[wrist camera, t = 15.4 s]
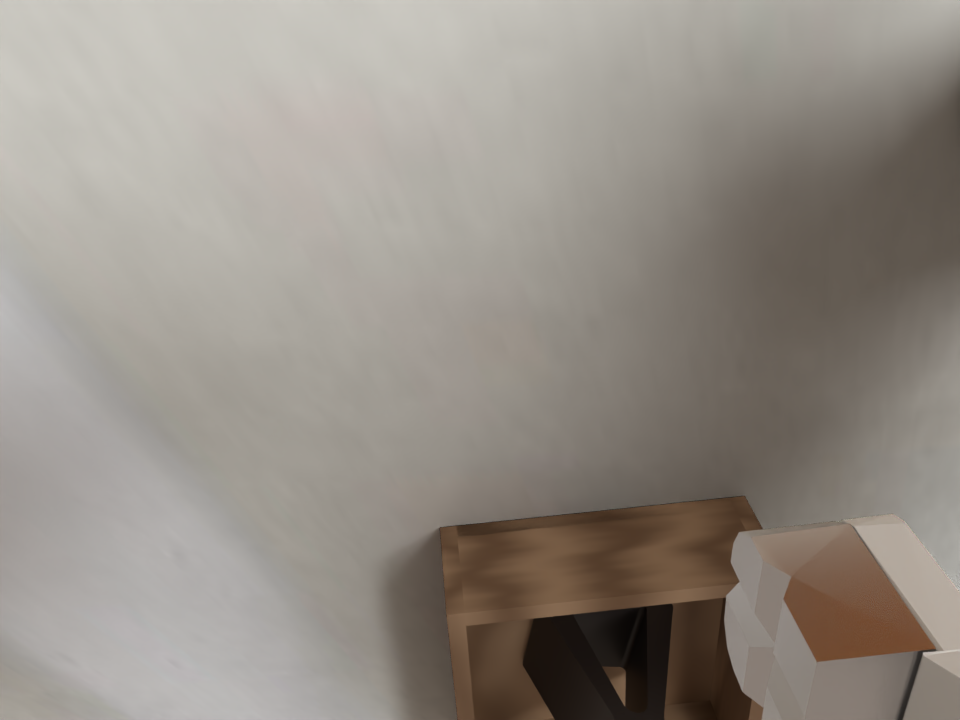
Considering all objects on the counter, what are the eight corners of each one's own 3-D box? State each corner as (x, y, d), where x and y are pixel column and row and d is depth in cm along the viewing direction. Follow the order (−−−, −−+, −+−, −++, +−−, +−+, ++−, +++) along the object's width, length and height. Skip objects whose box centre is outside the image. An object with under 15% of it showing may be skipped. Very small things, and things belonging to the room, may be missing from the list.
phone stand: (671, 601, 57) (734, 769, 46) (649, 664, 59) (703, 834, 49) (537, 595, 55) (571, 767, 45) (521, 659, 58) (549, 834, 48)
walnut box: (744, 496, 54) (789, 577, 48) (718, 696, 64) (752, 784, 58) (439, 527, 53) (446, 615, 47) (460, 725, 63) (468, 819, 57)
